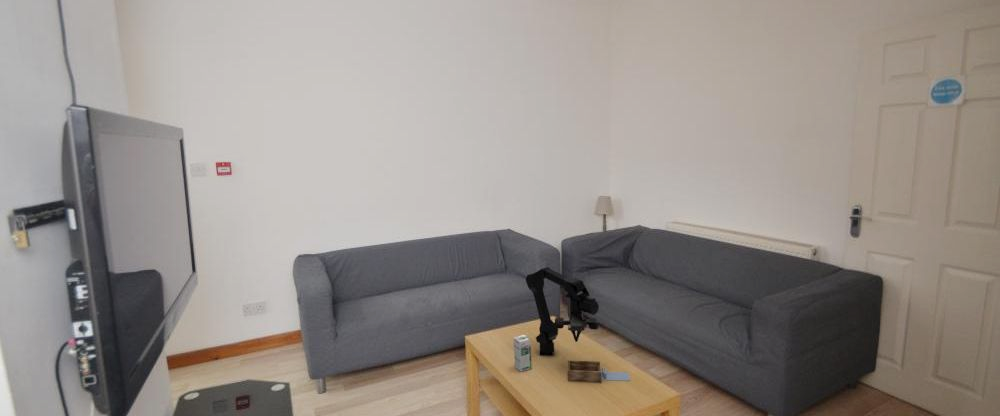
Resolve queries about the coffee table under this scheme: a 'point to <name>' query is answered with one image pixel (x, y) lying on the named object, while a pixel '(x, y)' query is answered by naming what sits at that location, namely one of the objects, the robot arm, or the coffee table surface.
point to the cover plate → (614, 376)
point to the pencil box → (584, 371)
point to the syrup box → (522, 353)
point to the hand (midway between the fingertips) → (576, 341)
